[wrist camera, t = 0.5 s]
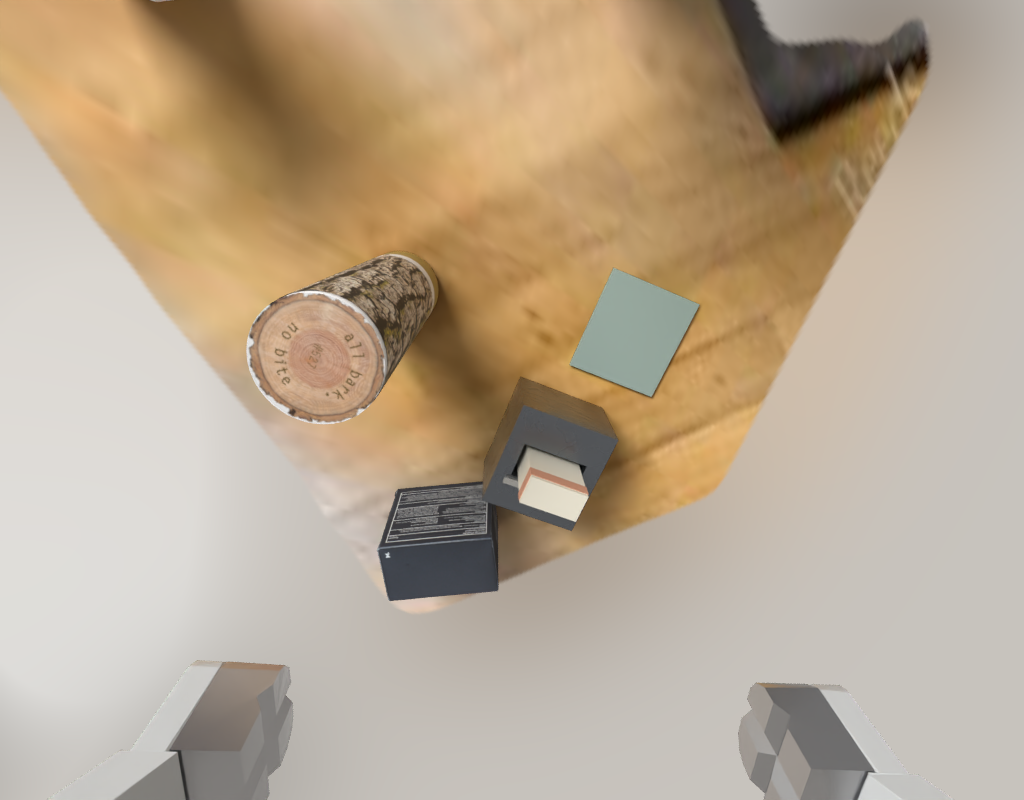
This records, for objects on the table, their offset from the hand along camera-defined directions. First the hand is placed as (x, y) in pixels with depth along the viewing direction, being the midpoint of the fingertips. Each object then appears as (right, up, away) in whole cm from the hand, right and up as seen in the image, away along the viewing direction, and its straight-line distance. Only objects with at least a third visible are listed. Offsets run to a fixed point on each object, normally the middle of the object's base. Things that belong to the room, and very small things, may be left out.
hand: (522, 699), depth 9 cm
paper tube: (-10, +16, +41) cm, 45 cm away
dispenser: (+3, +2, +46) cm, 46 cm away
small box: (-7, -7, +49) cm, 50 cm away
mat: (+12, +12, +42) cm, 45 cm away
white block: (+3, +1, +43) cm, 43 cm away
